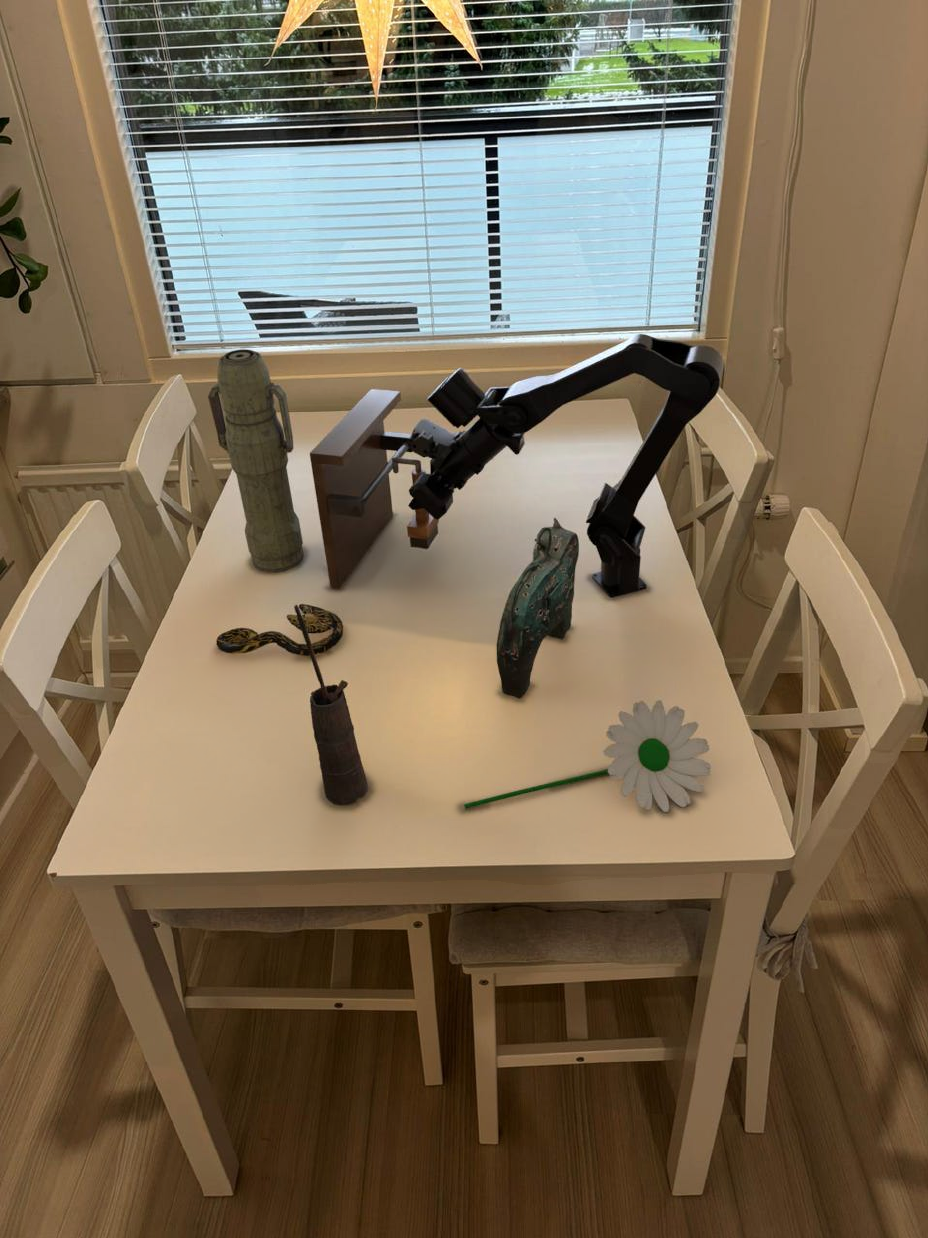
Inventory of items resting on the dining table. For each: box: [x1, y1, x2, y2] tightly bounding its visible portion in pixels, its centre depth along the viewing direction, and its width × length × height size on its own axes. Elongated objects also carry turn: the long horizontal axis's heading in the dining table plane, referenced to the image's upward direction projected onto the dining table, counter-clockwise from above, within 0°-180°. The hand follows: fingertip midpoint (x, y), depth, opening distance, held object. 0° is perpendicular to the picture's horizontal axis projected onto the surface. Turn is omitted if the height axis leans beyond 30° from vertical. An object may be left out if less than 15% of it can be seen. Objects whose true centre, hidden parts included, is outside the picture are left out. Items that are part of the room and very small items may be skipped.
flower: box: [463, 700, 712, 813], centre depth 110 cm, size 13×6×30 cm
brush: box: [392, 457, 440, 550], centre depth 147 cm, size 6×6×14 cm
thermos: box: [207, 348, 305, 574], centre depth 145 cm, size 9×12×35 cm
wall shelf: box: [309, 388, 413, 590], centre depth 149 cm, size 7×24×24 cm, turn 163°
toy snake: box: [215, 603, 344, 657], centre depth 135 cm, size 18×5×10 cm
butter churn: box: [293, 604, 369, 806], centre depth 105 cm, size 9×10×28 cm
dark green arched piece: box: [496, 517, 580, 700], centre depth 125 cm, size 20×6×20 cm, turn 152°
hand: (413, 503), depth 148 cm, fingers closed on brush, 2 cm apart
